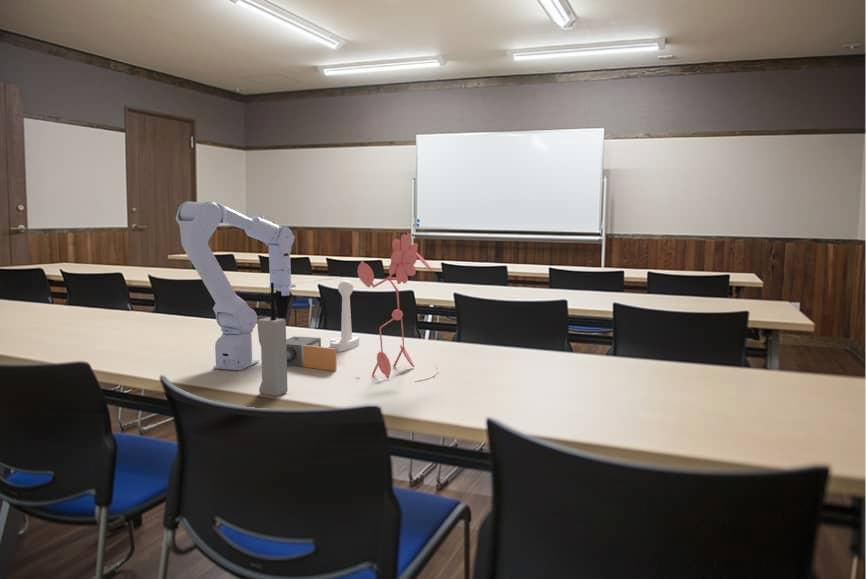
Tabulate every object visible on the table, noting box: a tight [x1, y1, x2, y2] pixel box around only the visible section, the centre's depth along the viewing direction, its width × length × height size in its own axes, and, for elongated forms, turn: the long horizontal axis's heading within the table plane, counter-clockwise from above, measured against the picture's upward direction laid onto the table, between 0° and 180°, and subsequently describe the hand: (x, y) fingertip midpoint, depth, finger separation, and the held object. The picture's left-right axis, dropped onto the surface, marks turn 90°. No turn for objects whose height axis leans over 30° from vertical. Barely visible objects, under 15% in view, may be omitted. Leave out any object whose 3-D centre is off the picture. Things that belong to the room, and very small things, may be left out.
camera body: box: [286, 335, 322, 367], centre depth 173 cm, size 12×8×6 cm
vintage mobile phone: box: [256, 282, 289, 397], centre depth 142 cm, size 4×5×25 cm
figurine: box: [355, 233, 439, 383], centre depth 158 cm, size 15×26×35 cm, turn 148°
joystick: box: [329, 279, 360, 353], centre depth 189 cm, size 11×8×20 cm
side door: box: [301, 345, 337, 372], centre depth 165 cm, size 10×1×6 cm, turn 64°
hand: (281, 318), depth 180 cm, fingers closed
